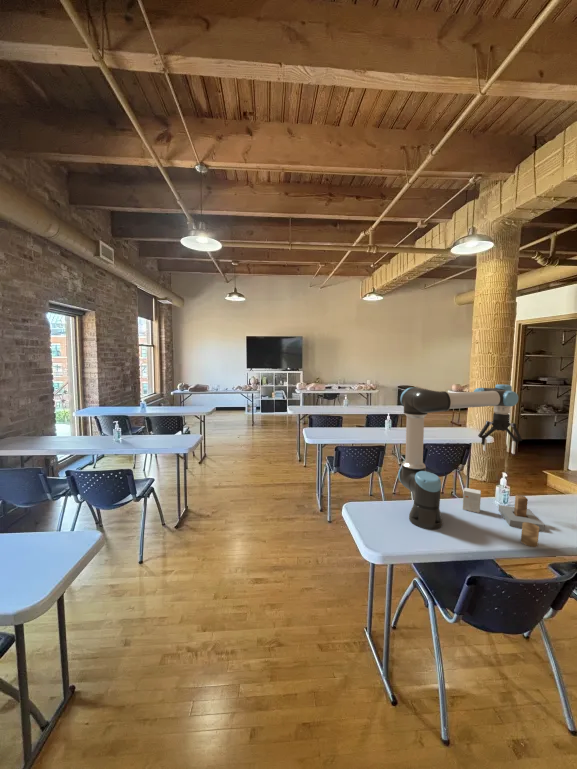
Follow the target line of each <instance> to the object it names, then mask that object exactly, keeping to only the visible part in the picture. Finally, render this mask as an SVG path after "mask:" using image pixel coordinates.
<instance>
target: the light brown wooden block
mask: <svg viewBox="0 0 577 769" xmlns="http://www.w3.org/2000/svg"><path fill="white" fill-rule="evenodd" d="M539 534H540V531H539V527H538V526H537V525H535V524H533V523H529V522H524V523H523V524H522V528H521V536H520V542H521V544H523V545H525V546H528V547H531V548H537V547H538V545H539V536H540V535H539Z"/></svg>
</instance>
